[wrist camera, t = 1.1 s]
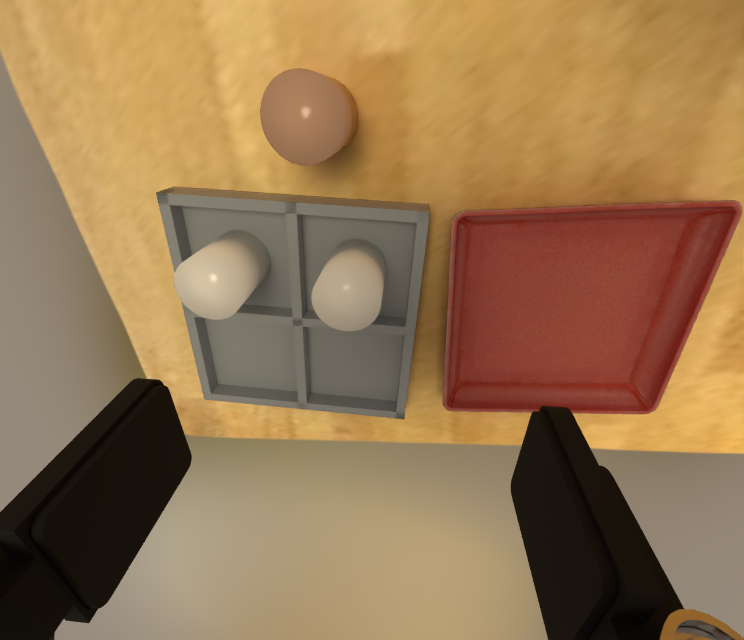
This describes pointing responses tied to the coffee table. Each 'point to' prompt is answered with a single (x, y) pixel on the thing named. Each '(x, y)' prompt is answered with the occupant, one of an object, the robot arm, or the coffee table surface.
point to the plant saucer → (577, 303)
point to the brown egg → (307, 116)
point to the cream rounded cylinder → (350, 286)
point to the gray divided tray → (303, 301)
